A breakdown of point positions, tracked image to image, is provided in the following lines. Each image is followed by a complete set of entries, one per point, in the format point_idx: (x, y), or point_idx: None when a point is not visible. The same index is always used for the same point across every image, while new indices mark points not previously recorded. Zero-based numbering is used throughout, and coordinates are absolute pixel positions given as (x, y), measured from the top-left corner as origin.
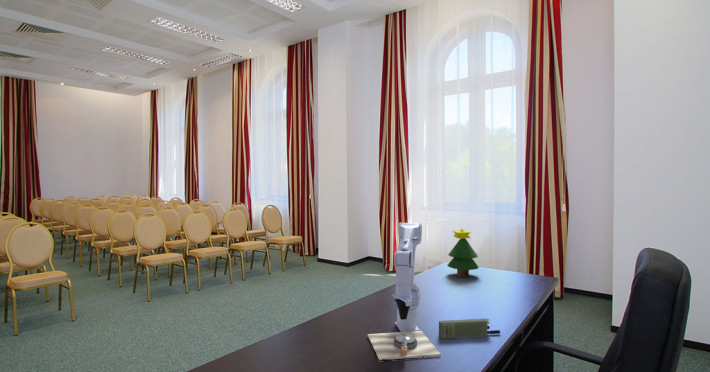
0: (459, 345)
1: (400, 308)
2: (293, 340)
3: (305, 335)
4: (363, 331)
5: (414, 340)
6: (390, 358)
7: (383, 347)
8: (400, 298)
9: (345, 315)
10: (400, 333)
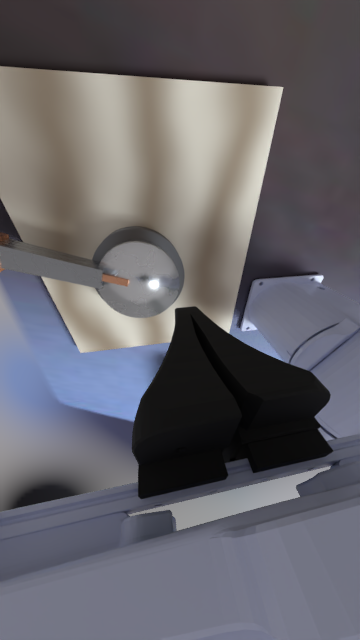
0: (148, 383)
1: (162, 366)
2: None
3: None
4: (344, 83)
5: (121, 310)
6: None
7: (106, 155)
8: (70, 620)
9: None
10: (177, 272)
